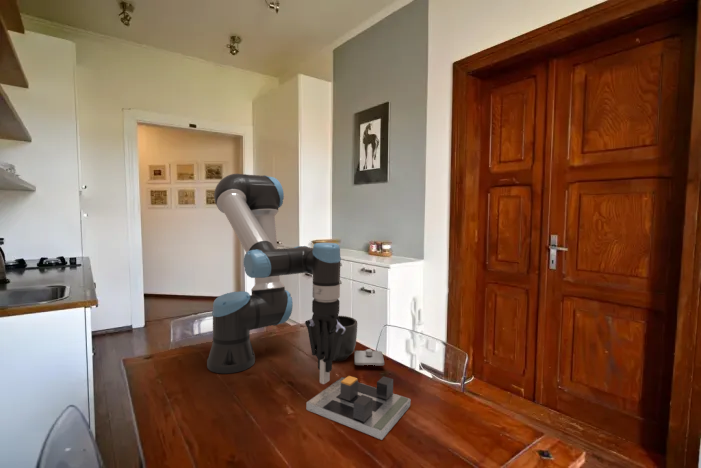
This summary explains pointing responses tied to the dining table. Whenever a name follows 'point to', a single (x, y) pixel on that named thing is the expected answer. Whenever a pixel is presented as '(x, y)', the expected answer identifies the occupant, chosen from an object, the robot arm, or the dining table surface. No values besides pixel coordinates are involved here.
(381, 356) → the light switch
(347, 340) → the planter
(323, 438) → the dining table surface
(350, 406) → the panel
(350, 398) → the block
